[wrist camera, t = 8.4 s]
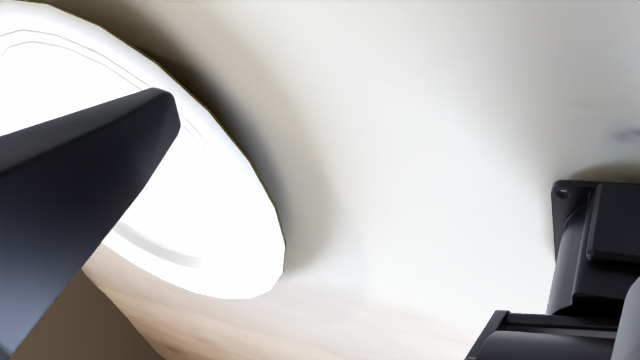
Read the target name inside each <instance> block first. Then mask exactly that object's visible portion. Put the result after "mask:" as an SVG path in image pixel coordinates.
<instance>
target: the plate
mask: <svg viewBox="0 0 640 360" xmlns="http://www.w3.org/2000/svg"><path fill="white" fill-rule="evenodd" d="M151 87H156V88H160V89H163V90H166V91H168V92H170V93H172V95H173V96H174V98H175V102H176V106H177V109H178V113H179V117H180V121H181V128H180V132H179V134H178V136H177V138H176V139H175V141H174V142H173V144H172V145H171V147H170V149H169V150H168V152H167V153H166V155H165V156H164V158H163V160H162V161H161V163H160V164H159V166H158V167H157V169H156V171H155V172H154V174H153V175H152V177H151V179H150V180H149V182H148V183H147V185H146V186H145V188H144V189H143V190H142V192H141V193H140V194H139V196H138V197H137V198H136V200H135V201H134V202H133V203H132V205H131V206H130V207H129V208H128V210H127V211H126V212H125V213H124V215H123V216H122V217H121V218H120V220H119V221H118V222H117V224H116V225H115V226H114V227H113V229H112V230H111V231H110V232H109V234H108V235H107V236H106V237H105V239H104V240H103V241H102V242H103V243H104V244H105V245H107V246H108V247H110V248H111V249H113V250H114V251H116V252H117V253H119V254H120V255H122V256H123V257H125V258H126V259H128V260H129V261H131V262H132V263H134V264H135V265H137V266H139V267H141V268H143V269H145V270H147V271H148V272H150V273H152V274H154V275H156V276H158V277H159V278H161V279H163V280H165V281H168V282H170V283H173V284H175V285H178V286H180V287H183V288H185V289H188V290H190V291H193V292H196V293H200V294H205V295H209V296H214V297H218V298H223V299H247V298H252V297H254V296H257V295H259V294H262V293H264V292H267V291H269V290H270V289H271V288H272V286H273V285H274V284H275V282H276V281H277V280H278V278H279V277H280V276H281V274H282V273H283V271H284V260H285V250H286V241H285V238H284V234H283V230H282V227H281V223H280V219H279V216H278V212H277V209H276V205H275V204H274V202H273V200H272V198H271V196H270V195H269V193H268V191H267V189H266V187H265V186H264V184H263V182H262V180H261V178H260V177H259V175H258V173H257V171H256V169H255V167H254V166H253V164H252V162H251V160H250V159H249V158H248V156H247V155H246V154H245V153H244V151H243V150H242V149H241V148H240V147H239V145H238V144H237V143H236V142H235V140H234V139H233V138H232V137H231V135H230V134H229V133H228V132H227V130H226V129H225V128H224V127H223V126H222V124H221V123H220V122H219V121H218V119H217V118H216V117H215V116H214V114H213V113H212V112H211V111H210V110H209V109H208V108H207V107H206V106H205V105H204V104H203V103H202V102H201V101H200V100H199V99H197V98H196V97H195V96H194V95H193V94H192V93H191V92H190V91H189V90H188V89H186V88H185V87H184V86H183V85H182V84H181V83H180V82H179V81H178V80H177V79H176V78H174V77H173V76H172V75H171V74H170V73H169V72H168V71H167V70H166V69H165V68H164V67H162V66H161V65H160V64H159V63H158V62H157V61H155V60H154V59H152V58H151V57H149V56H148V55H146V54H145V53H143V52H142V51H140V50H138V49H137V48H135V47H134V46H132V45H131V44H129V43H128V42H126V41H125V40H123V39H122V38H120V37H119V36H117V35H116V34H114V33H113V32H111V31H110V30H108V29H107V28H105V27H104V26H102V25H100V24H98V23H96V22H93V21H91V20H89V19H86V18H84V17H81V16H79V15H77V14H74V13H72V12H69V11H67V10H65V9H62V8H60V7H58V6H55V5H53V4H50V3H45V2H37V1H28V0H1V1H0V136H2V135H5V134H8V133H11V132H14V131H17V130H20V129H24V128H27V127H30V126H33V125H36V124H39V123H42V122H45V121H48V120H52V119H55V118H58V117H61V116H64V115H67V114H70V113H73V112H76V111H80V110H83V109H86V108H89V107H92V106H95V105H98V104H101V103H104V102H107V101H111V100H114V99H117V98H120V97H123V96H126V95H129V94H132V93H135V92H139V91H142V90H145V89H148V88H151Z"/></svg>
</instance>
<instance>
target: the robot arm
mask: <svg viewBox="0 0 640 360" xmlns="http://www.w3.org/2000/svg"><path fill="white" fill-rule="evenodd" d="M180 128H181V121H180V117H179V113H178V109H177V106H176V102H175V98H174V96H173V95H172V93H170V92H168V91H166V90H163V89H160V88H156V87H151V88H148V89H145V90H142V91H139V92H135V93H132V94H129V95H126V96H123V97H120V98H117V99H114V100H111V101H107V102H104V103H101V104H98V105H95V106H92V107H89V108H86V109H83V110H80V111H76V112H73V113H70V114H67V115H64V116H61V117H58V118H55V119H52V120H48V121H45V122H42V123H39V124H36V125H33V126H30V127H27V128H24V129H20V130H17V131H14V132H11V133H8V134H5V135H2V136H0V360H9V359H10V355H12V354H13V353H14V352H15V351H16V349H17V348H18V347H19V346H20V344H21V343H22V342H23V341H24V339H25V338H26V337H27V336H28V334H29V333H30V332H31V331H32V329H33V328H34V327H35V325H36V324H37V323H38V322H39V321H40V319H41V318H42V317H43V315H44V314H45V313H46V312H47V310H48V309H49V308H50V307H51V305H52V304H53V303H54V302H55V300H56V299H57V298H58V296H59V295H60V294H61V293H62V291H63V290H64V289H65V288H66V286H67V285H68V284H69V283H70V281H71V280H72V279H73V278H74V276H75V275H76V274H77V273H78V271H79V270H80V269H81V268H82V266H83V265H84V264H85V263H86V261H87V260H88V259H89V258H90V256H91V255H92V254H93V252H94V251H95V250H96V249H97V247H98V246H99V245H100V244H101V242H102V241H103V240H104V239H105V237H106V236H107V235H108V234H109V232H110V231H111V230H112V229H113V227H114V226H115V225H116V224H117V222H118V221H119V220H120V218H121V217H122V216H123V215H124V213H125V212H126V211H127V210H128V208H129V207H130V206H131V205H132V203H133V202H134V201H135V200H136V198H137V197H138V196H139V194H140V193H141V192H142V190H143V189H144V188H145V186H146V185H147V183H148V182H149V180H150V179H151V177H152V175H153V174H154V172H155V171H156V169H157V167H158V166H159V164H160V163H161V161H162V160H163V158H164V156H165V155H166V153H167V152H168V150H169V149H170V147H171V145H172V144H173V142H174V141H175V139H176V138H177V136H178V134H179V132H180ZM560 190H566V191H568V192H561V191H560ZM551 201H552V216H553V231H554V246H555V261H556V267H555V272H554V277H553V282H552V286H551V291H550V296H549V301H548V306H547V311H546V315H545V314H522V313H510V311H502V310H496V311H495V312H494V314H493V316H492V317H491V319H490V320H489V322H488V323H487V325H486V327H485V328H484V330H483V331H482V333H481V334H480V336H479V337H478V339H477V341H476V342H475V344H474V345H473V347H472V348H471V350H470V352H469V353H468V355H467V356H466V358H465V359H464V360H640V184H629V183H612V182H594V181H576V180H558V181H556V182H555V183H554V184H553V187H552V191H551Z"/></svg>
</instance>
